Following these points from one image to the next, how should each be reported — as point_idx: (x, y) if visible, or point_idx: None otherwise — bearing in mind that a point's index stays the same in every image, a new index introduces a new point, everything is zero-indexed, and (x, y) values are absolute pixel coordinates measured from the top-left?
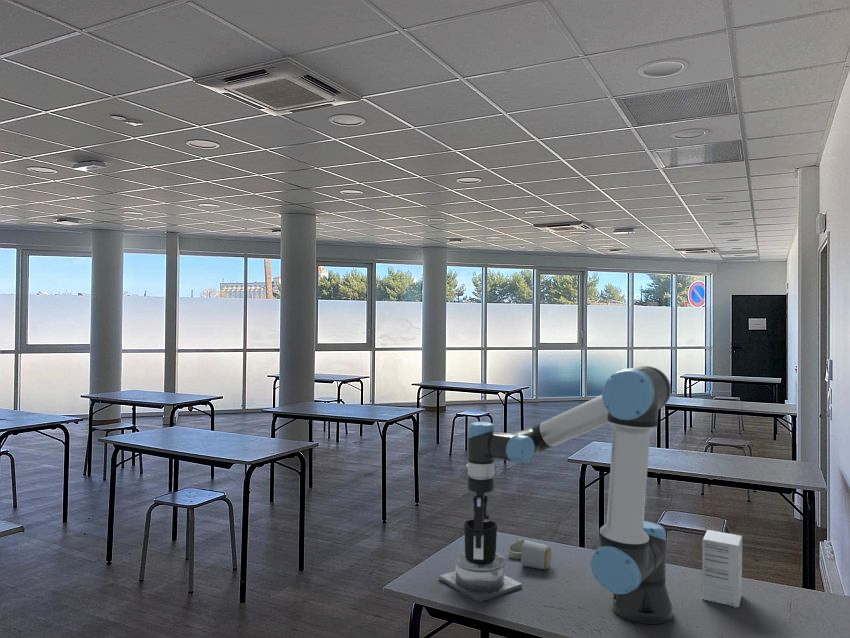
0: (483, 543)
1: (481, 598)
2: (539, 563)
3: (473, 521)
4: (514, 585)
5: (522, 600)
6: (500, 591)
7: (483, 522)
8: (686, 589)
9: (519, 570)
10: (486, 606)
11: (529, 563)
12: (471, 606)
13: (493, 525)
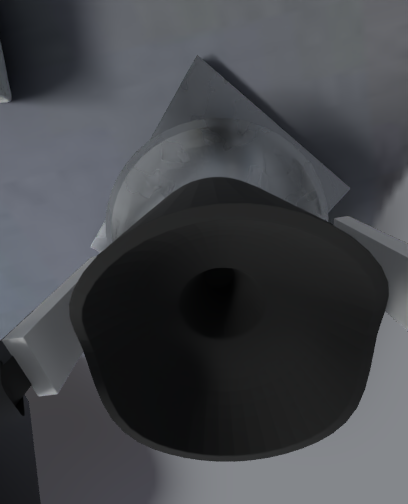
0: (391, 248)
1: (342, 182)
2: None
3: (139, 415)
4: (222, 85)
5: (303, 35)
6: (283, 130)
7: (92, 348)
8: None
9: (47, 107)
10: (366, 158)
11: (2, 53)
12: (370, 202)
13: (141, 252)
